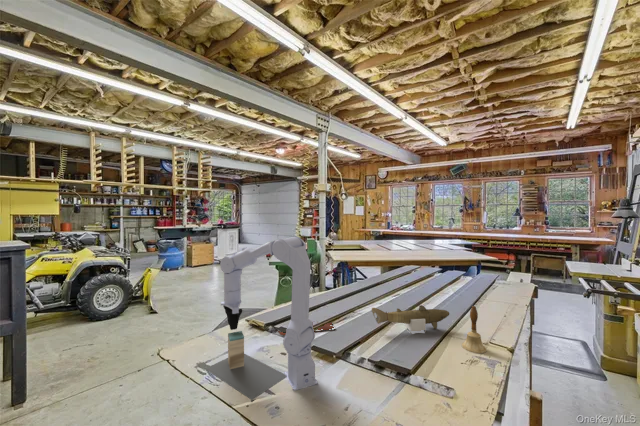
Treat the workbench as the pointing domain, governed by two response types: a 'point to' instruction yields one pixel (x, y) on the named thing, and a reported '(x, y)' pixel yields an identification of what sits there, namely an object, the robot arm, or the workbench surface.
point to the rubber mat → (247, 376)
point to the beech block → (235, 349)
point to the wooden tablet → (325, 327)
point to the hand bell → (474, 336)
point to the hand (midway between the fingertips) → (232, 326)
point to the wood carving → (412, 317)
